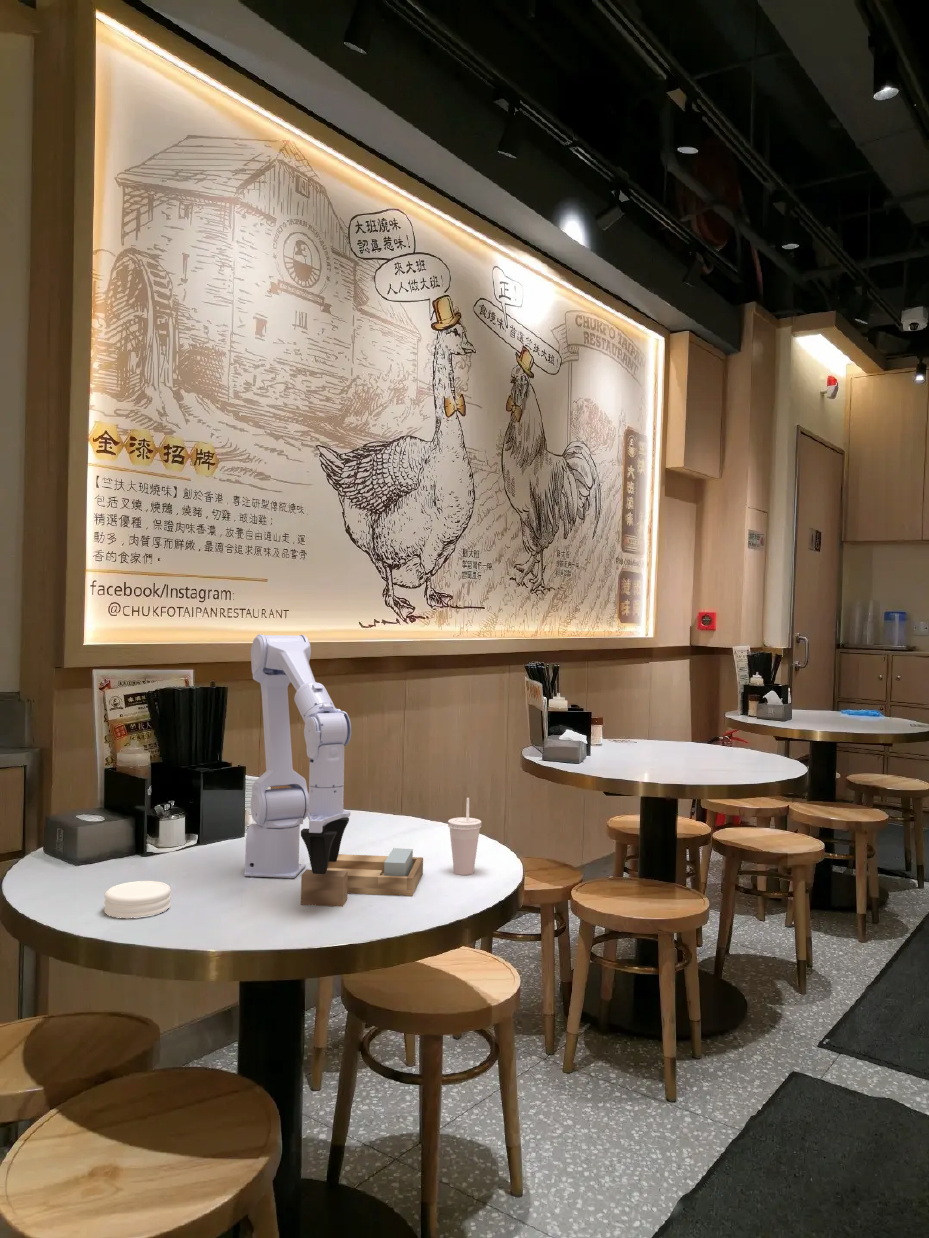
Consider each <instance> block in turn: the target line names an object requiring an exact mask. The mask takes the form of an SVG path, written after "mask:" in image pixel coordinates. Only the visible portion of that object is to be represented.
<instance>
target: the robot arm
mask: <svg viewBox="0 0 929 1238" xmlns="http://www.w3.org/2000/svg"><path fill="white" fill-rule="evenodd" d="M309 640H310V639H308V637H307V636H306V635H305V634H299V635H291V634H290V635H286V634H285V635H284V634H283V635H282V634H279V635H276V634H275V635H274V634H271V635H270V634H261V633H259V634H257V635H256V636H255V637H254V639H253V641H252V645H251V648H250V661H251V673H252V679H253V680H254V681H256V682H257V683H259V684H260V692H261V693H260V694H261V704H262V706H261V707H262V721H263V722H262V723H263V736H264V738H263V739H264V741H263V742H264V755H265V758H264V759H265V770H266V771H264V773H262V775H260V776H259V777H258V778H257V779H256V780H254V782H253V783H252V786H251V799H250V814H251V817H252V819H253V821H254V822H255V823H251V824H250V825H249V826H248V828H247V832H246V837H245V860H244V861H245V864H244V865H245V866H244V873H243V876H244V877H261V878H262V877H263V878H282V879H286V878H287V879H294V878H296V877H297V876H298V875H299V874H300V873H301V871H302V872H303V870H304V868H306V864H304V863H300V837H301V838H302V841H303V842H304V844H305V847H306V850H307V852H308V853H307V854H308V857H309V864H310V867H311V868H310V870H312V872H313V874H326V871H327V868H328V862H336V861H337V858H338V854H340V849H341V843H342V839H343V836H344V833H345V830H346V828H347V826H348V824H349V822H350V816H351V811H349V810H344V797H345V796H344V792H345V791H344V789H345V787H344V786H345V784H344V783H345V747H347V745H349V744H350V741H351V737H352V724H351V719H350V717H349V715H348V712H346V711H343V710H341V709H340V708H336V706H335V704H334V702H333V700H332V698H331V696H330V694H329V693H328V691H327V689H326V687H325V686H324V684H322V683H320V682H316V679H315V677H314V673H313V671H312V668H311V665H310V659H311V655H312V647H311V642H310V641H309ZM290 684H292V686H293V687H294V689H295V691H296V692H295V694H294V697H293V699H294V703H295V705H296V707H297V709H298V712H299V713H300V716H301V717H302V721H303V722H304V729H303V735H304V741H305V744H306V756H307V757H308V758H309V769H308V770H309V772H308V773H309V774H308V779H309V780H308V785H307V780H306V778H305V777H303V776H302V775H300V774H299V773H298V772H297V771H295V770H294V769H293V754H292V753H293V751H292V736H291V724H290V723H291V722H290V709H289V708H290V707H289V693H288V692H289V690H288V688H289V685H290ZM283 786H284V787H283ZM285 786H286V787H285ZM287 786H288V787H287ZM272 787H279V788H272ZM280 787H281V788H280ZM268 788H270V789H268ZM306 819H308V828H302V830H301V828H300V826H301V825H304V820H306Z"/></svg>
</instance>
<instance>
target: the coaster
mask: <svg viewBox="0 0 929 1238" xmlns="http://www.w3.org/2000/svg"><path fill="white" fill-rule="evenodd" d="M171 891H172V890H171V886H170V885H168V884H167V883H164V882H162V881H157V880H138V881H129V882H124V883H119V884H117V885H113V886H111V887H110V888H109V889H107V890H106V891H105V893H104V899H105V900H104V908H103V911H104V913H106V914H108V915H110V916H113V917H119V918H120V917H121V918H131V917H132V918H134V917H141V916H148V915H153V914H159V913H161V912H164V911H165V910H167V909H168V908H169V909H170V907H171V904H172V903H171V898H172V896H171ZM169 909H168V910H169ZM168 910H167V911H168ZM164 913H165V912H164ZM106 914H105V915H106ZM108 915H107V916H108ZM159 915H160V914H159ZM110 916H109V917H110Z"/></svg>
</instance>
